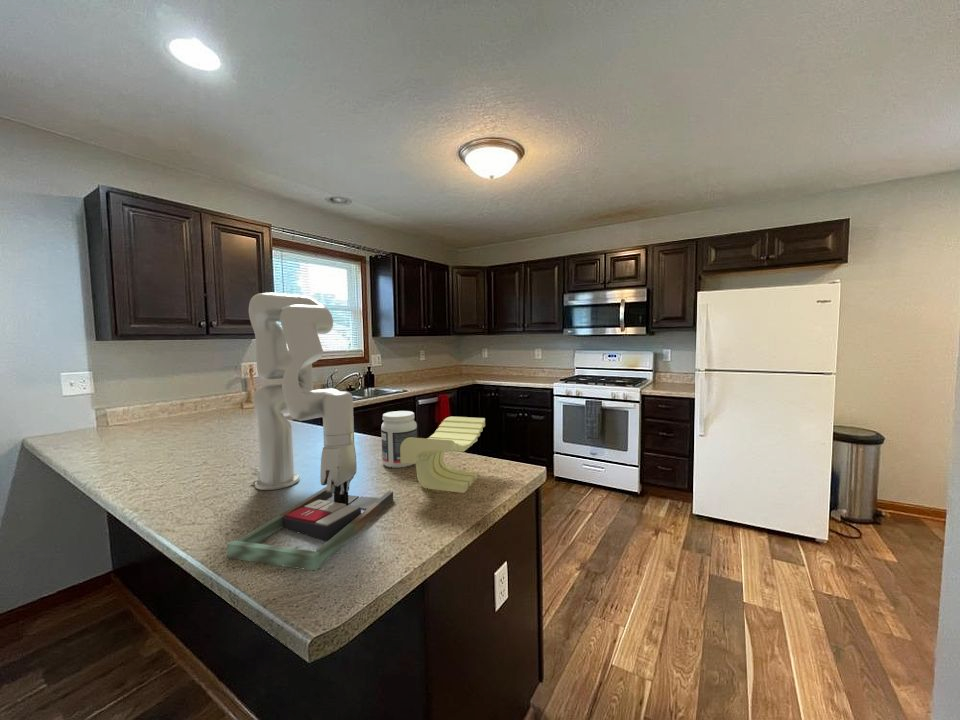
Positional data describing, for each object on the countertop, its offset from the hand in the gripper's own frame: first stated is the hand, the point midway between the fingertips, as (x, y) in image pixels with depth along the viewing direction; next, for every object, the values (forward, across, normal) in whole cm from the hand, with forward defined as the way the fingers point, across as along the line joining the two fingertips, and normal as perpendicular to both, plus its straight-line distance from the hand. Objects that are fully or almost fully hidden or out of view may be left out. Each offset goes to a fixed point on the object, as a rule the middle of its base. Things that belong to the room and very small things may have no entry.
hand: (341, 507), depth 102 cm
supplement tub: (+1, -40, -2) cm, 40 cm away
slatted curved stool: (+1, -25, +21) cm, 33 cm away
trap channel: (+1, +8, 0) cm, 8 cm away
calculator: (+2, +8, 0) cm, 8 cm away
